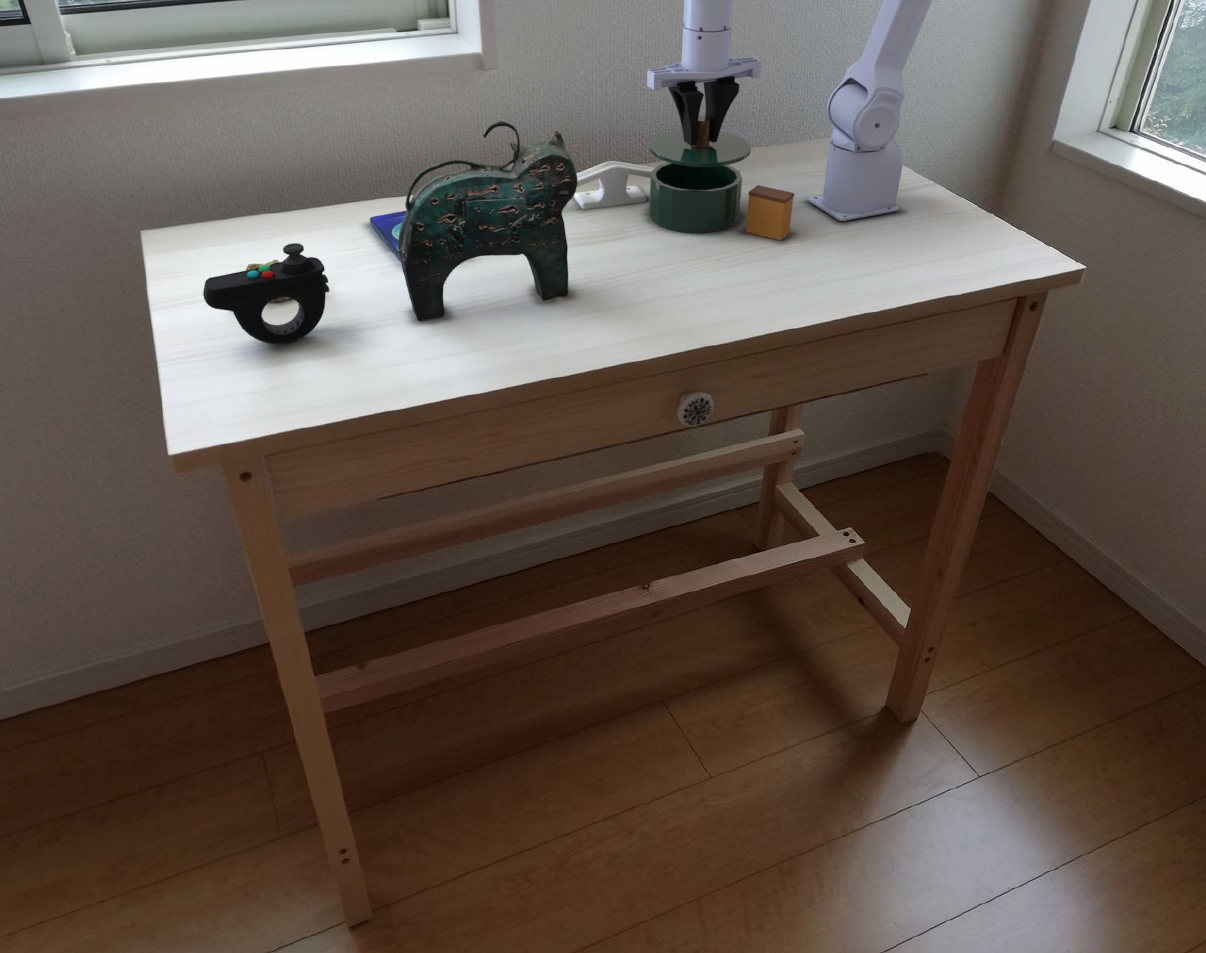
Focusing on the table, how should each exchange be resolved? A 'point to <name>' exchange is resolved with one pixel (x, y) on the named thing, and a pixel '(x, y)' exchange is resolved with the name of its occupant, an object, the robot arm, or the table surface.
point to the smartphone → (389, 229)
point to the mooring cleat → (611, 184)
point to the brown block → (769, 212)
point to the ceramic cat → (489, 220)
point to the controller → (273, 295)
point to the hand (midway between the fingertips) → (700, 141)
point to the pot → (695, 197)
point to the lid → (700, 147)
